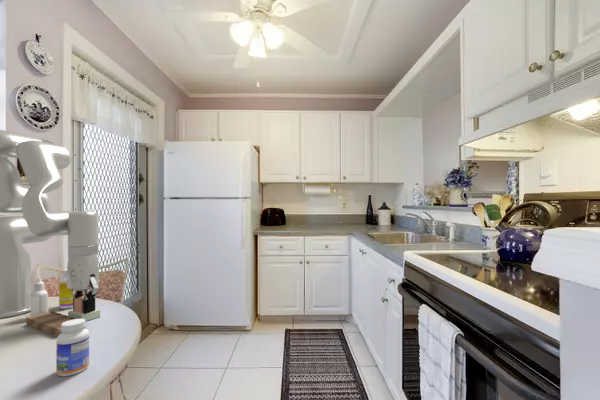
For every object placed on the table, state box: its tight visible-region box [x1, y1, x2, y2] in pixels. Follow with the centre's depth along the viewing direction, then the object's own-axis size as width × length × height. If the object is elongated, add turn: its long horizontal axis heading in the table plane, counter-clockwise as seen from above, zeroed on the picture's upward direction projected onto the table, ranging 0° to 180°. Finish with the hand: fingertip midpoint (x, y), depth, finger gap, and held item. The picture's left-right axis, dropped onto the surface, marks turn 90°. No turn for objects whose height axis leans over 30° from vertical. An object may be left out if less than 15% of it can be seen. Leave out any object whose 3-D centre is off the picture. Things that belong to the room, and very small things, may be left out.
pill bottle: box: [55, 319, 90, 377], centre depth 61 cm, size 5×5×10 cm
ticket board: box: [25, 310, 86, 337], centre depth 85 cm, size 20×6×2 cm, turn 61°
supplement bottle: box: [58, 268, 75, 310], centre depth 103 cm, size 7×7×13 cm
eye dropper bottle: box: [30, 277, 49, 317], centre depth 93 cm, size 4×6×12 cm
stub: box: [67, 296, 101, 322], centre depth 92 cm, size 8×5×6 cm, turn 61°
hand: (84, 310), depth 92 cm, fingers closed on stub, 5 cm apart
